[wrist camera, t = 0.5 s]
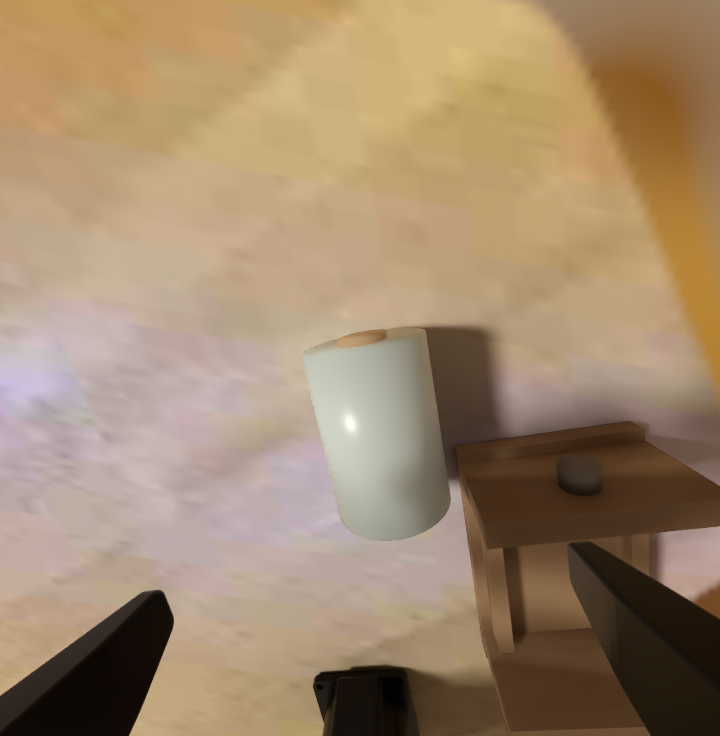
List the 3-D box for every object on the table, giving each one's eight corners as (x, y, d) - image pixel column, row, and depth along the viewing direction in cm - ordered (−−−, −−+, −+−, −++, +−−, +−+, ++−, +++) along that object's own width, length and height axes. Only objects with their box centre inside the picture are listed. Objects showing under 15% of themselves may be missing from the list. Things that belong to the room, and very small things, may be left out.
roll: (444, 468, 19) (460, 541, 14) (349, 478, 20) (329, 551, 14) (420, 317, 17) (429, 333, 12) (317, 335, 18) (281, 359, 12)
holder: (632, 635, 21) (717, 758, 15) (482, 645, 22) (514, 763, 16) (630, 414, 17) (738, 472, 12) (453, 438, 18) (481, 502, 13)
